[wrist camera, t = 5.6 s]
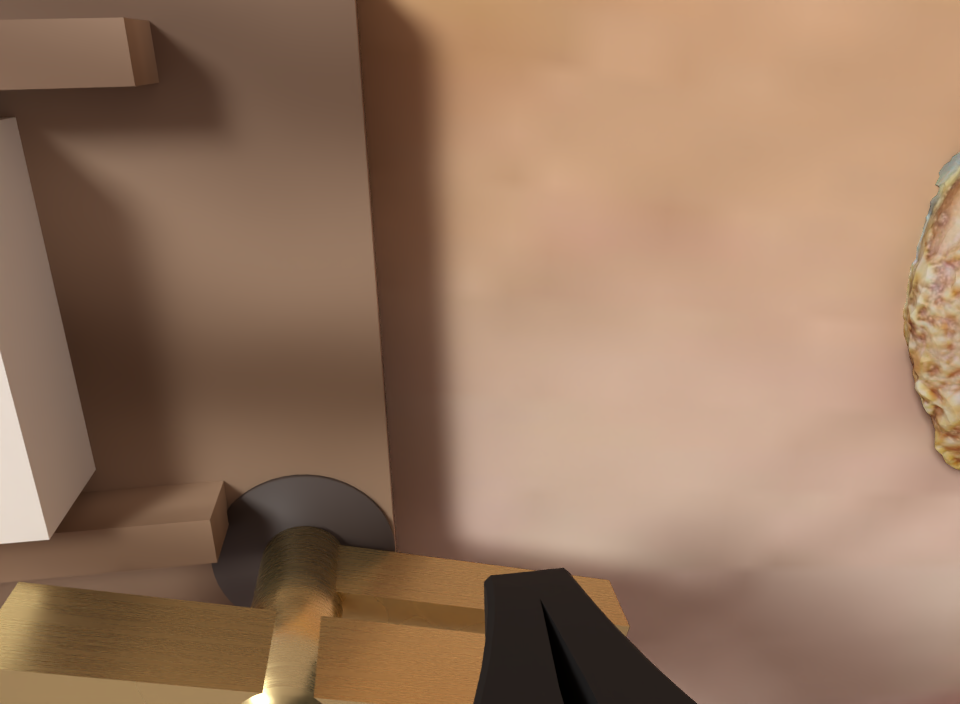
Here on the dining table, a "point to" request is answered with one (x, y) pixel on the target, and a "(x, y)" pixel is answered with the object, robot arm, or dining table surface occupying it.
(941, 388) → the bread roll
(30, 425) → the cream cover
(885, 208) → the dining table surface
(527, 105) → the dining table surface
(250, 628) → the brass T-key
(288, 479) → the board
